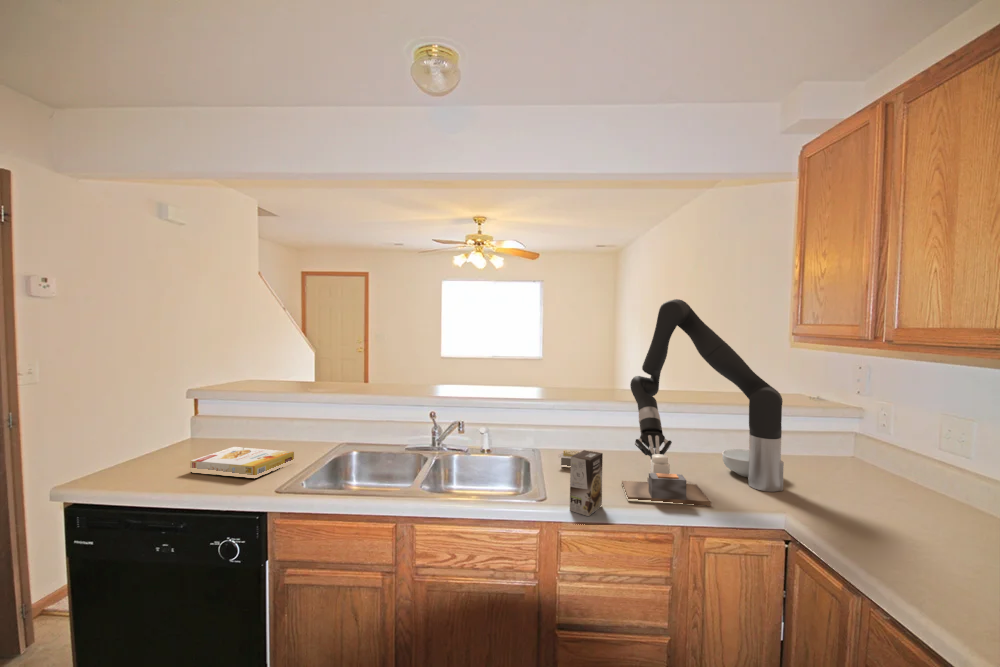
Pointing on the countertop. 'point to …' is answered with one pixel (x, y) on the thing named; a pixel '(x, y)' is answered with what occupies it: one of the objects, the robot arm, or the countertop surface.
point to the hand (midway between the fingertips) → (656, 465)
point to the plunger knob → (659, 464)
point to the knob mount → (666, 490)
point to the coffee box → (586, 482)
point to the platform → (567, 457)
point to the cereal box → (243, 460)
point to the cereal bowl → (737, 461)
